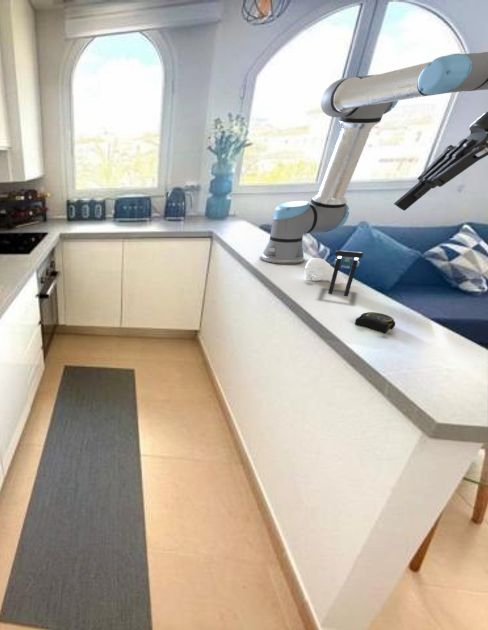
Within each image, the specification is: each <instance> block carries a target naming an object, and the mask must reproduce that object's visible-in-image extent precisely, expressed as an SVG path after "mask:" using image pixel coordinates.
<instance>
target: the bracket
mask: <svg viewBox="0 0 488 630" xmlns="http://www.w3.org/2000/svg"><path fill="white" fill-rule="evenodd" d="M336 257H337V258H336V259H334V262H333V265H334V267H333V268H334V272H333V276H332V280H331V281H330V284H329V288H328V292H327V294H329V295H333V293H334V288H335V285H336V284H335V281H336V277H337V273H338V272H339V269H340V267H341V263H342V259H343V257H341V256H336ZM360 263H361V262H360V261H359V258H353V259H352V263H351V266H350V272H349V275H348V278H347V282H346V285H345V289H344V293H343V297H349V295H350V290H351V287H352V283H353V281H354V280H353V279H354V276H355V273H356V271H357V270H356V269H357V267H358V268H359V266H360Z"/></svg>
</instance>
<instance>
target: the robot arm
mask: <svg viewBox="0 0 488 630" xmlns="http://www.w3.org/2000/svg"><path fill="white" fill-rule="evenodd" d="M487 90H488V51H484V52H474V53H473V52H471V53H452V54H447V55H441V56H439V57H436V58H434V59H433V60H432V61H427V62H424V63H420V64H416V65H412V66H408V67H404V68H399V69H396V70H395V69H394V70H391V71H387V72H383V73H378V74H377V73H376V74H369V75H368V74H367V75H358V76H348V77H343V78H340V79H338V80H335V81H334V82H332V83H331V84H330V85H329V86H328V87H327V88H326V89H325V90H324V92H323V94H322V96H321V99H320V108H321V110H322V112H323V113H324V114H325V115H326V116H327V117H331V118H339V120H338V121H339V123H340V125H341V126H342V127H341V129H340V132H339V135H338V138H337V141H336V144H335V146H334V148H333V152H332V155H331V157H330V160H329V163H328V165H327V168H326V171H325V174H324V177H323V179H322V182H321V185H320V188H319V191H318V193H317V194H315V195H313V196H311V200H310V202H309V201H306V200H296V201H288V202H283V203H280V204H278V205H277V206H276V207H275V209H274V212H273V215H272V223H271V229H270V235H269V240H268V242H267V244H266V247H265V249H264V250H263V251H262V253H261V260H262V261H265V262H267V263H271V264H278V265H295V264H300V263H302V262H303V261H304V257H305V256H304V248H303V237H304V234H305V235H306V234H317V233H329V232H335V231H337V230H339V229H340V228H342V227H343V226H344V225H345V224H346V222H347V221H348V219H349V216H350V211H349V210H350V208H349V205H348V204H347V202H348V200H347V198H346V197H345V195H346V192H347V190H348V188H349V186H350V184H351V180H352V178H353V176H354V174H355V171H356V169H357V168H356V167H357V166H358V163H359V161H360V159H361V156H362V154H363V151H364V148H365V146H366V144H367V141H368V139H369V136H370V133H371V132H372V129H373V128H374V127H375V126H376V125H378V124H380V123H381V121H382V118H383V116H384V115H385V114H388V113H389V112H391V111H392V109H394V108H395V107H396V106H397V104H398V102H399V101H404V100H410V99H417V98H422V97H423V98H424V97H431V96H436V95H443V94H450V93H459V92H460V93H461V92H472V91H473V92H475V91H487ZM468 130H469V132H470V133H469V135H468V136H466V137H464V138H463V139H461V140H460V141H459V142H457V144H456V145H452V144H449V145H447V146H446V147H445V149H444V150H443V151H442V153H441V154H439V156H438V157H437V158H436V159H435V160H434V161H433V162H432V163H431V164H430V165H429V166H427V168H426V169H425V170H424V171H423V172H422V173H421V174H420V175H419V176H418V177H417V180H418V182H417V183H416V184H415V185H414V186H413V187H411V188H410V189H409V190H407V192H406V193H404V194H403V195H402V196H401V197H400V198H399V199H397V200H396V201H395V202H394V203H393V205H395V206H396V207H397V208H399V210H402V211H406V210H408V209H409V208H410V207H411V206H412V205H414V204H415V203H416V202H417V201H418V200H420V199H421V198H422V197H423V196H425V195H426V194H427V193H428V192H429V191H430V190H432V189H435V188H437V187H439V188H441V187H443V186H444V185H446V184H447V183H449V182H450V181H451V180H453V179H454V178H456V177H457V176H459V175H460V174H462V173H463V172H464V171H466V170H468V168H470V167H471V166H473V165H474V164H476V163H477V162H479V161H480V160H482V159H484V158H486V157H487V156H488V111H485V112H484V113H483V114H481V115H480V116H479V117H478V118H477V119H476V120H475V121H473V122H472V123H471V124H470V125H469V129H468Z"/></svg>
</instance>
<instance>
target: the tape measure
mask: <svg viewBox="0 0 488 630" xmlns="http://www.w3.org/2000/svg"><path fill="white" fill-rule="evenodd" d="M354 325H355V326H358V327H362V328H365V329H369V330H371V331H375V332H379V333H382V334H387V333H388V331H390V330H392V329H394V328H395V326H396V322H395V319H394V317H392V316H390V315H388V314H386V313H382V312H374V311H367V312H363V313H361V315H360V316H358V317H357V318H356V319H355V320H354Z"/></svg>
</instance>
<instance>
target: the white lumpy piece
mask: <svg viewBox="0 0 488 630" xmlns="http://www.w3.org/2000/svg"><path fill="white" fill-rule="evenodd" d="M334 268H335V267H333V266H332V265H331V264H330V263H329V262H327V261H326V260H325V259H323V258H320V257H311V258H310V259H309V260H308V261H307V262H306V264H305V266H304V278H305V280H306V281H309V282H311V281H313V282H317V281H328V282H331V280H332V276H333V272H334ZM345 281H346V276H345V274H344V273H341V272H340V271H338V273H337V277H336V281H335V285H337V284H344V283H345Z"/></svg>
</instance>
